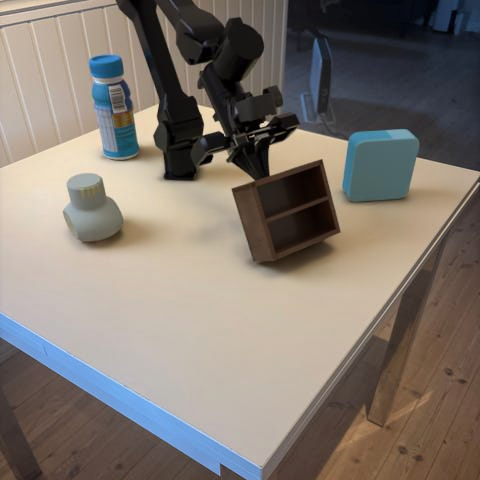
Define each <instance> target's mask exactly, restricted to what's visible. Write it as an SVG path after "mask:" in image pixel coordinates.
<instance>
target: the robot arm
mask: <svg viewBox="0 0 480 480" xmlns="http://www.w3.org/2000/svg"><path fill="white" fill-rule="evenodd" d="M115 3H116V5H117V7H118V10H119V11H120V12H121V13H123V15H124V16H125V17H126V18H128V20H130V21H131V22H132V24H133V27H134V30H135V34H136V36H137V39H138V42H139V44H140V48H141V51H142V53H143V56H144V59H145V62H146V65H147V68H148V71H149V73H150V77H151V79H152V83H153V85H154V88H155V92H156V94H157V97H158V101H159V102H158V105H157V112H156V120H157V122H158V125H157V126H156V129H155V131H154V132H153V134H152V138H153V141H154V145H155V147H156V148H157V149H159V150H160V151H162V155H163V157H162V158H163V165H164V173H163V179H164V180H179V181H180V180H181V181H193V180H194V179H195V177H196V176H197V174H198V173H199V170H200V167H203V166H205V165H206V166H207V165H209V164H211V163H212V162H213V159H214V154H215V155H216V154H218V153H223V152H225V151H226V153H227V155H228V157H227V158H226V159H225V162H226V163H227V164H230V163H231V164H233V165H234V166H236V167H237V168H238V169H240V170H241V171H242V172H244V173H245V174H247V176H249V177H250V178H251V179H252V180H253V181H256V180H259V179H262V178H265V177H268V176H271V174H270V173H271V172H270V160H269V155H270V154H269V152H270V147H271V146H274V145H277V144H281V143H282V142H285V141H287V139H288V138H290V137H291V135H293V133H295V132H296V131H297V130H298V128H300V127H301V126H302V125H301V122H300V120H299V118H298V116H297V114H296V113H294V112H292V111H288V112H284V113H281V114H278V110H277V108H281V107H283V105H284V99H283V94H282V92H281V90H280V88H279V87H278V85H277V84H275V85H270V86H268V87H265V88H263V89H262V94H257V95H255V96H254V95H253V93H252V92H251V91H247V92H246V91H245V89H244V87H243V84H242V82H243V81H244V80H245V79H246V78H247V77H248V76H249V74H250V73H251V71H252V70H253V69H254V67H255V66H256V65H257V63H258V61H259V60H260V58H262V55H263V53H264V52H265V51H264V50H265V42H264V39H263V36H262V34H260V33H259V32H258V31H257V30H256V29H255V28H254V26H253V27H252V26H251V25H249V24H247V23H244V21H243V19H242V17H241V16H236V17H235V16H234V17H230V18H228V19H227V21H226V22H225V23H226V24H225V26H224V24H223V22H222V21H220V20H219V18H217V17H216V16H215V15H214V14H213V13H212V12H209V11H207V10H204V9H202V8H200V7H198V6H197V4H196V3H195V2H194V1H193V0H115ZM158 8H159V9H160V10H161V13H163V15H164V16H165V17H166V19H167V20H168V22H169V23H170V25H171V26H172V28H173V29H174V32H175V45H176V47H177V49H178V51H179V54H180V55H181V57H182V59H183V60H184V62H185V63H186V64H187V65H189V66H197V65H202V64H206V65H205V66H204V68H203V70H199V72H198V74H199V76H198V80H197V82H196V83H197V84H196V88H197V89H198V90H203V89H204V90H205V93H206V95H207V97H208V99H209V102H210V104H211V106H212V108H213V109H212V110H213V111H214V113H213V115H212V119H213V121H214V123H216V122H217V123H218V122H219V124H220V127H221V129H222V132H221V131H220V130H217V131H213V132H210V133H206V134H204V129H205V123H204V118H203V115H202V113H201V111H200V108H199V104H198V101H197V99H196V97H195V96H194V95H188V94H187V93H186V92H185V91H184V90H183V88H182V84H181V82H180V79H179V76H178V72H177V69H176V67H175V64H174V61H173V58H172V55H171V52H170V48H169V46H168V42H167V40H166V37H165V34H164V31H163V28H162V24H161V21H160V19H159V16H158V11H157V9H158ZM267 116H273V117H272V119H270V121H269V122H268V123H267V124H266V125H264V126H261V125H262V124H264V123H265V122H266V121H267V118H266V117H267Z"/></svg>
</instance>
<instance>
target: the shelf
mask: <svg viewBox="0 0 480 480" xmlns="http://www.w3.org/2000/svg"><path fill="white" fill-rule="evenodd" d="M230 191H231V193H232V197H233V199H234V204H235V206H236V210H237V213H238V216H239V219H240V222H241V226H242V229H243V232H244V236H245V238H246V242H247V245H248V249H249V252H250V255H251V258H252V261H253V262H275V261H277V260H280V259H282V258H284V257H286V256H290V255H291V254H293V253H296V252H298V251H301V250H303V249H306V248H308V247H310V246H312V245H315V244H317V243H319V242H322V241H324V240H327V239H329V238H331V237H334V236H336V235H338V234H340V233H341V232H342V231H341V227H340V223H339V218H338V215H337V212H336V207H335V203H334V199H333V195H332V191H331V188H330V183H329V180H328V176H327V172H326V167H325V164H324V160H323V158H321V159H318V160H313V161H311V162H307V163H305V164H301V165H298V166H295V167H292V168H288V169H286V170H283V171H279V172H277V173H274V174H270V176H268V177H265V178H262V179H259V180H256V181H255V180H253V181H250V182H247V183H244V184H241V185H238V186H235V187H231V188H230Z"/></svg>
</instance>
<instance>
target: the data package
mask: <svg viewBox="0 0 480 480" xmlns="http://www.w3.org/2000/svg"><path fill="white" fill-rule="evenodd" d="M419 150H420V141H419V139H418V138H417V137H416V136H415V135H414V134H413V133H412V132H411V131H410V130H409V129H406V128H403V129H402V128H398V129H383V130H382V129H381V130H368V131H367V130H365V131H356V132H354V133H352V134H351V135H350V136H349V138H348V141H347V147H346V154H345V162H344V170H343V178H342V185H341V187H342V190H343V192H344V193H345V195H346V196H347V198H348V200H349V201H350V202H353V203H359V202H374V201H388V200H390V201H391V200H400V199H403V198H405V197H406V196H407V195H408V194H409V192H410V187H411V182H412V179H413V175H414V170H415V166H416V161H417V158H418V153H419Z"/></svg>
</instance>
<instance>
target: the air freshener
mask: <svg viewBox="0 0 480 480" xmlns="http://www.w3.org/2000/svg"><path fill="white" fill-rule="evenodd" d="M65 184H66V189H67V193H68V197H69V201H70V202H68V203H67V205H66V206H65V207H64V208H63V210H62V215H63V219H64V221H65V224H66V226H67V228H68V229H69V232H70V233H71V234H72V236H73V237H74V239H76V240H79V241H82V242H97V241H102V240H106V239H108V238H111V237H112V236H114V235H115V234H116V233H118V232H119V231H120V230H121V228H122V227H123V226H124V224H125V223H124V222H125V220H124V216H123V214H122V211H121V209H120V207H119V206H118V204H117V203H116V201H115V200H114V199H113V198H112V197H110V196H108V195H107V194H106V188H105V183H104V179H103V177H101V176H100V175H99V174H97V173H95V172H93V173H92V172H82V173H78V174H75V175H73V176H71V177H70V178H68V180H67V181H66V183H65Z"/></svg>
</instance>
